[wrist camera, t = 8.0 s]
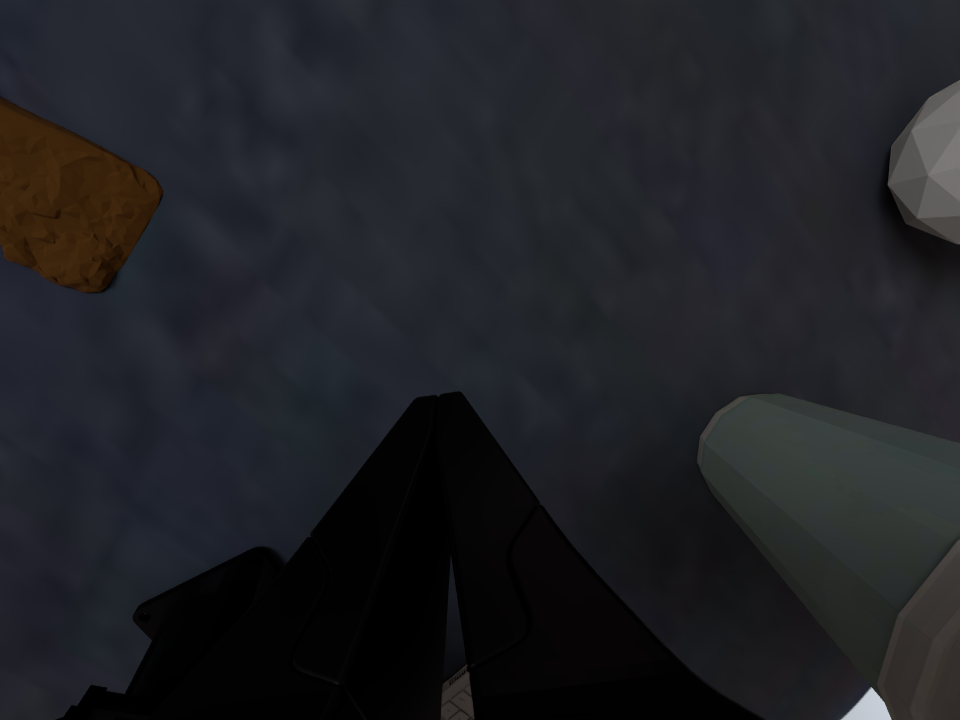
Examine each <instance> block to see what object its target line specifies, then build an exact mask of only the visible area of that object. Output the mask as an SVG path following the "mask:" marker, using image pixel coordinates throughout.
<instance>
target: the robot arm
mask: <svg viewBox="0 0 960 720" xmlns="http://www.w3.org/2000/svg"><path fill="white" fill-rule="evenodd" d="M310 536H311V537H308V538H306V540H305V541H304V542H303V543H302V545H301V546H300V547H299V549H298V550H297V551H296V552H295V554H294V555H293V556H292V558H291V559H290V560H289V561H288V562H287V564H286V565H285V566H284V567H283V569H282V570H281V569H280V567H279V566H278V565H277V563H276V562H275V561H274V559H273V558H272V557H271V556H270V554H269V553H268V552H267V551H266V550H265V549H263V548H261V547H256V548H252V549H250V550H248V551H246V552H244V553H242V554H240V555H238V556H236V557H234V558H232V559H230V560H228V561H226V562H224V563H222V564H220V565H218V566H216V567H214V568H212V569H210V570H208V571H206V572H204V573H202V574H200V575H198V576H196V577H194V578H192V579H190V580H188V581H186V582H184V583H182V584H180V585H178V586H176V587H174V588H172V589H170V590H168V591H166V592H164V593H162V594H160V595H158V596H156V597H154V598H152V599H150V600H148V601H146V602H144V603H142V604H141V605H139V606H138V608H137V609H136V611H135V613H134V615H133V621H134V622H135V623H136V625H137V626H138V627H139V628H140V629H141V630H142V631H143V632H144V633H145V634H146V635H147V636H148V637H149V638H150V639H151V640H152V642H151V644H150V646H149V648H148V650H147V652H146V654H145V656H144V658H143V660H142V661H141V663H140V665H139V667H138V669H137V671H136V673H135V675H134V677H133V679H132V681H131V683H130V685H129V687H128V689H127V691H126V693H125V694H121V693H115V692H110V691H106V690H107V688H106V687H100V686H95V685H91V686H90V687H89V689H88V690H87V692H86V693H85V695H84V696H83V698H82V699H81V701H80V703H79V704H78V706H73V705H71V707H70V708H69V710H68V711H67V713H66V714H65V716H64V717H62V718H59V719H57V720H441V706H442V689H443V673H444V656H445V640H446V624H447V607H448V591H449V574H450V558H451V557H452V564H453V571H454V578H455V585H456V591H457V598H458V605H459V612H460V619H461V626H462V633H463V639H464V646H465V653H466V660H467V667H468V672H469V680H470V687H471V695H472V702H473V711H474V720H765V719H764V718H762V717H760V716H759V715H757V714H755V713H753V712H752V711H750V710H748V709H747V708H745V707H743V706H741V705H740V704H738V703H736V702H735V701H733V700H731V699H729V698H728V697H726V696H725V695H723V694H721V693H720V692H718V691H717V690H716V689H714V688H713V687H711V686H710V685H709V684H707V683H706V682H704V681H703V680H702V679H701V678H700V677H698V676H697V675H696V674H695V673H694V672H692V671H691V670H690V669H689V668H688V667H687V666H686V665H685V664H684V663H683V662H682V661H680V660H679V659H678V658H677V657H676V656H675V655H674V654H673V653H672V652H671V651H670V650H669V649H668V648H667V647H666V646H665V645H664V643H663V642H662V641H661V640H660V639H659V638H658V637H657V636H656V635H655V634H654V633H653V632H652V631H651V630H650V629H649V628H648V627H647V626H646V624H645V623H644V622H643V621H642V620H641V619H640V618H639V617H638V616H637V615H636V614H635V613H634V612H633V611H632V610H631V609H630V608H629V607H628V605H627V604H626V603H625V602H624V601H623V600H622V599H621V598H620V597H619V596H618V595H617V594H616V593H615V592H614V591H613V590H612V589H611V588H610V586H609V585H608V584H607V583H606V582H605V581H604V580H603V579H602V578H601V577H600V576H599V575H598V574H597V573H596V571H595V570H594V569H593V568H592V567H591V566H590V565H589V564H588V562H587V561H586V560H585V559H584V558H583V557H582V556H581V555H580V553H579V552H578V551H577V550H576V549H575V548H574V547H573V545H572V544H571V543H570V542H569V540H568V539H567V538H566V536H565V535H564V534H563V532H562V531H561V530H560V529H559V527H558V526H557V525H556V523H555V522H554V521H553V519H552V518H551V516H550V515H549V514H548V512H547V511H546V509H545V508H544V507H543V506H542V505H540V501H539V500H538V499H537V497H536V496H535V494H534V493H533V492H532V490H531V489H530V487H529V486H528V485H527V483H526V482H525V480H524V479H523V478H522V476H521V475H520V473H519V472H518V471H517V469H516V468H515V466H514V465H513V464H512V462H511V461H510V459H509V458H508V457H507V455H506V454H505V452H504V451H503V449H502V448H501V447H500V445H499V444H498V442H497V441H496V440H495V438H494V437H493V435H492V434H491V433H490V431H489V430H488V428H487V427H486V426H485V424H484V423H483V421H482V420H481V419H480V417H479V416H478V414H477V413H476V412H475V410H474V409H473V407H472V406H471V405H470V403H469V402H468V400H467V399H466V398H465V396H464V395H463V393H461V392H459V391H458V392H451V393H444V394H441V395H440V396H439V397H438V396H436V395H431V396H424V397H418V398H416V399H414V400H413V402H412V403H411V404H410V406H409V407H408V408H407V409H406V411H405V412H404V413H403V415H402V416H401V417H400V418H399V420H398V421H397V422H396V424H395V425H394V426H393V427H392V429H391V430H390V431H389V433H388V434H387V435H386V437H385V438H384V439H383V440H382V442H381V443H380V444H379V446H378V447H377V448H376V449H375V451H374V452H373V453H372V455H371V456H370V457H369V458H368V460H367V461H366V462H365V464H364V465H363V466H362V468H361V469H360V470H359V471H358V473H357V474H356V475H355V477H354V478H353V479H352V480H351V482H350V483H349V484H348V486H347V487H346V488H345V489H344V491H343V492H342V493H341V495H340V496H339V497H338V499H337V500H336V501H335V502H334V504H333V505H332V506H331V508H330V509H329V510H328V511H327V513H326V514H325V515H324V517H323V518H322V519H321V520H320V522H319V523H318V524H317V526H316V527H315V528H314V529H313V531H312V532H311V534H310ZM254 557H257V558H260V559H261V560H259V561H256V560H254V559H252V558H254ZM144 613H148V614H150V615H145V614H144Z"/></svg>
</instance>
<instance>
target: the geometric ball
mask: <svg viewBox="0 0 960 720" xmlns="http://www.w3.org/2000/svg"><path fill="white" fill-rule="evenodd" d="M888 187H889V189H890V191H891V193H892V195H893V198H894V200H895V202H896V204H897V206H898V208H899V211H900V213H901V215H902V217H903V219H904V222H905V224H907V225H910V226H912V227H915V228H917V229H920V230H922V231H925V232H927V233H930V234H932V235H935V236H937V237H940V238H942V239H945V240H947V241H950V242H952V243H955V244H960V80H959V81H957V82H956V83H954V84H952V85H950V86H948V87H947V88H945V89H943V90H941V91H940V92H938V93H936V94H934V95H933V96H931V97H929V98H928V99H927V101H926V102H925V103H924V105H923V106H922V107H921V108H920V110H919V111H918V112H917V114H916V115H915V116H914V117H913V119H912V120H911V121H910V123H909V124H908V125H907V126H906V128H905V129H904V130H903V132H902V133H901V134H900V135H899V137H898V138H897V139H896V141H895V142H894V143H893V144H892V146H891V155H890V166H889V177H888Z"/></svg>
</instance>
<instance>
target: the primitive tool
mask: <svg viewBox="0 0 960 720" xmlns="http://www.w3.org/2000/svg"><path fill="white" fill-rule="evenodd" d="M162 194H163V189H162V188H161V186H160V184H159V183H158V181H157V180H156V179H155V178H154V177H153V176H151V175H150V174H148V173H147V172H146V171H144V170H143V169H141V168H139V167H136V166H135V165H133V164H131V163H129V162H127V161H126V160H124V159H122V158H121V157H119V156H117V155H115V154H114V153H112V152H109V151H108V150H106V149H105V148H103V147H102V146H99V145H97V144H95V143H93V142H91V141H89V140H87V139H85V138H83V137H81V136H79V135H77V134H75V133H73V132H71V131H69V130H67V129H65V128H63V127H61V126H59V125H57V124H55V123H53V122H50V121H48V120H46V119H43V118H41V117H38V116H37V115H35V114H33V113H31V112H29V111H27V110H25V109H23V108H21V107H19V106H17V105H15V104H13V103H11V102H9V101H7V100H5V99H3V98H1V97H0V245H1V246H2V248H3V251H4V257H5V259H6V260H8V261H10V262H15V263H18V264H20V265H22V266H25V267H29V268H32V269H33V270H35V271H36V272H38V273H39V274H40V275H41V276H42V277H43V278H45V279H47V280H49V281H51V282H53V283H55V284H57V285H60V286H68V287H71V288H73V289H76V290H79V291H81V292H84V293H94V292H101V291H102V290H103V289H104V288H106V287H107V286H108V284H109V283H110V282H111V280H112V278H113V275H114V274H115V273H116V272H117V271H118V270H119V269H120V268H121V267H122V266H123V265H124V263H125V262H126V260H127V258H128V257H129V255H130V253H131V252H132V250H133V248H134V246H135V245H136V243H137V241H138V240H139V238H140V236H141V235H142V233H143V232H144V230H145V228H146V226H147V225H148V223H149V221H150V220H151V218H152V216H153V214H154V212H155V211H156V209H157V207H158V204H159V201H160V198H161V196H162Z"/></svg>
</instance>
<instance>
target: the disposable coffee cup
mask: <svg viewBox="0 0 960 720" xmlns="http://www.w3.org/2000/svg"><path fill="white" fill-rule="evenodd" d="M697 463H698V465H699V467H700V469H701V470H700V471H701V473H702V475H703V477H704V479H705V481H706V483H707V485H708V487H709V489H710V491H711V493H712V494H713V495H714V496H715V498H716V499H717V500H718V501H719V503H720V504H721V505H722V506H723V507H724V509H725V510H726V511H727V512H728V513H729V515H730V516H731V517H732V518H733V519H734V521H735V522H736V523H737V524H738V526H739V527H740V528H741V529H742V530H743V532H744V533H745V534H746V535H747V536H748V538H749V539H750V540H751V541H752V543H753V544H754V545H755V546H756V547H757V549H758V550H759V551H760V552H761V553H762V555H763V556H764V557H765V558H766V559H767V561H768V562H769V563H770V564H771V566H772V567H773V568H774V569H775V570H776V572H777V573H778V574H779V575H780V576H781V578H782V579H783V580H784V581H785V582H786V584H787V585H788V586H789V587H790V589H791V590H792V591H793V592H794V593H795V595H796V596H797V597H798V598H799V599H800V601H801V602H802V603H803V604H804V606H805V607H806V608H807V609H808V610H809V612H810V613H811V614H812V615H813V616H814V618H815V619H816V620H817V621H818V622H819V624H820V625H821V626H822V627H823V629H824V630H825V631H826V632H827V633H828V635H829V636H830V637H831V638H832V639H833V641H834V642H835V643H836V644H837V645H838V647H839V648H840V649H841V650H842V652H843V653H844V654H845V655H846V656H847V658H848V659H849V660H850V661H851V662H852V664H853V665H854V666H855V667H856V669H857V670H858V671H859V672H860V673H861V675H862V676H863V677H864V678H865V679H866V681H867V682H868V683H869V684H870V685H871V687H872V688H873V689H874V690H875V692H876V693H877V694H878V695H879V696H880V698H882V700H883V701H884V702H885V705H886V707H887V710H888V712H889V714H890V717H891V719H892V720H960V443H957V442H953V441H949V440H946V439H942V438H939V437H935V436H931V435H928V434H924V433H920V432H917V431H913V430H910V429H906V428H902V427H899V426H895V425H891V424H888V423H884V422H881V421H877V420H873V419H870V418H866V417H862V416H859V415H855V414H852V413H848V412H844V411H841V410H837V409H833V408H830V407H826V406H822V405H819V404H815V403H812V402H808V401H804V400H801V399H797V398H793V397H790V396H786V395H783V394H779V393H777V394H758V395H749V396H740V397H739V398H737V399H736V400H734V401H732V402H731V403H729V404H728V405H726V406H725V407H723V408H722V409H720V410H719V411H717V412H716V413H715V415H714V416H713V418H712V419H711V421H710V422H709V424H708V425H707V427H706V428H705V430H704V431H703V433H702V434H701V436H700V441H699V449H698V457H697Z"/></svg>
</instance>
